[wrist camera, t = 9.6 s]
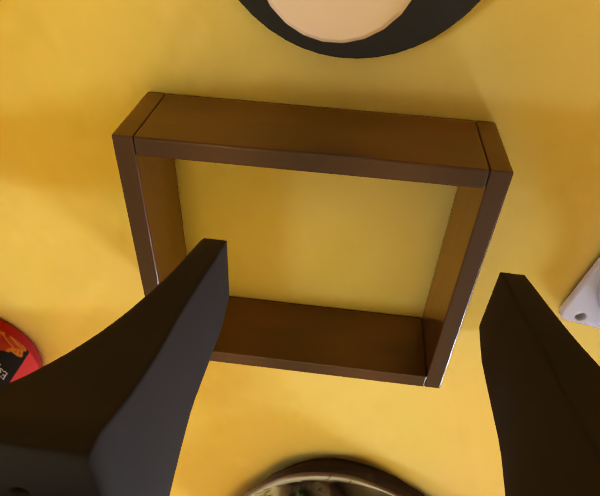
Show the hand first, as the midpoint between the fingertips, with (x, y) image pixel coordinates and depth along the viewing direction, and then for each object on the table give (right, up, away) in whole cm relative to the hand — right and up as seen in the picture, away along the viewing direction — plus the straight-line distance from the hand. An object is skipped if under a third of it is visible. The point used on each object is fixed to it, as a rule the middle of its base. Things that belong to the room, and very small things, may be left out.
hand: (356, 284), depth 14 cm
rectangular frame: (-1, +2, +12) cm, 12 cm away
